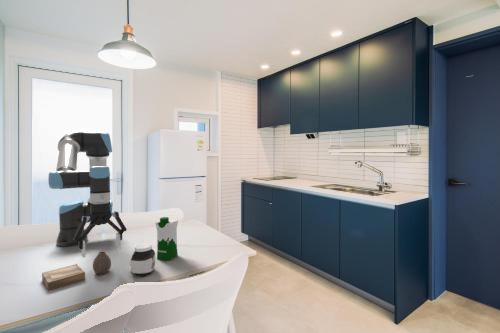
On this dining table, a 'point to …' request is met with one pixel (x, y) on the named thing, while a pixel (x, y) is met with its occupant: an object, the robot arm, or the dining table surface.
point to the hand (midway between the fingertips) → (101, 252)
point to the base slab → (63, 276)
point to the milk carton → (166, 239)
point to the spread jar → (143, 260)
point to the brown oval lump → (101, 263)
